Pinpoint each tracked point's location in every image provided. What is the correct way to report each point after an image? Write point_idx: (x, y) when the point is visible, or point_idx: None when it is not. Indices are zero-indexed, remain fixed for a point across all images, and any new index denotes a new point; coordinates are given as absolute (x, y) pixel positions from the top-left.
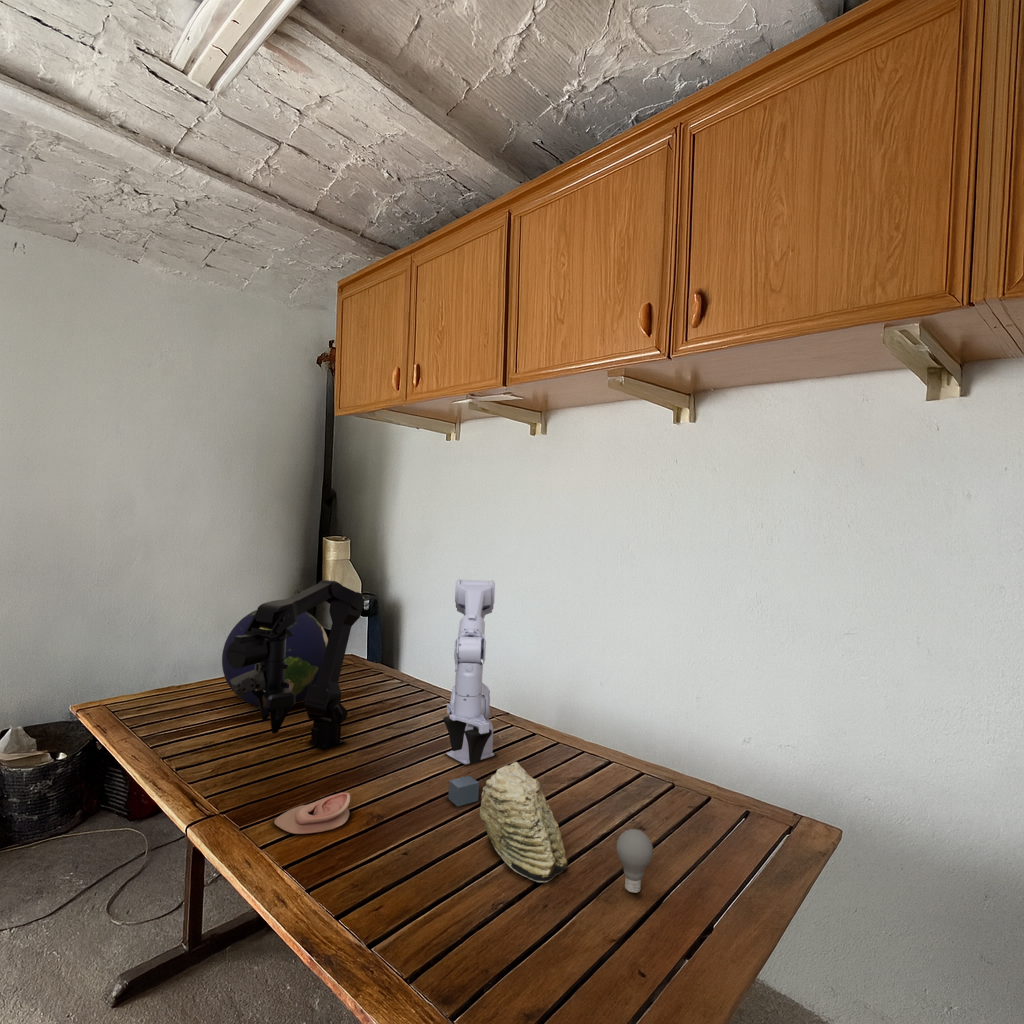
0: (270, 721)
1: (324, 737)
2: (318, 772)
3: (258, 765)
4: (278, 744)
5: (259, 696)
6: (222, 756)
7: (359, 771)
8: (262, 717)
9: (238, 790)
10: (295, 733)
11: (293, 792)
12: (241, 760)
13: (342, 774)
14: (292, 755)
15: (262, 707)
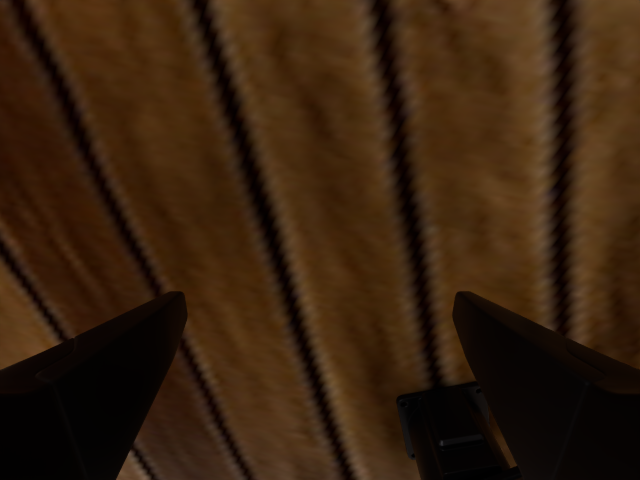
0: (126, 329)
1: (422, 434)
2: (232, 343)
3: (389, 192)
4: (538, 298)
5: (621, 423)
6: (573, 77)
7: (191, 429)
8: (465, 302)
9: (189, 70)
10: None
11: (106, 243)
12: (477, 144)
13: (189, 391)
14: (410, 313)
15: (510, 352)
